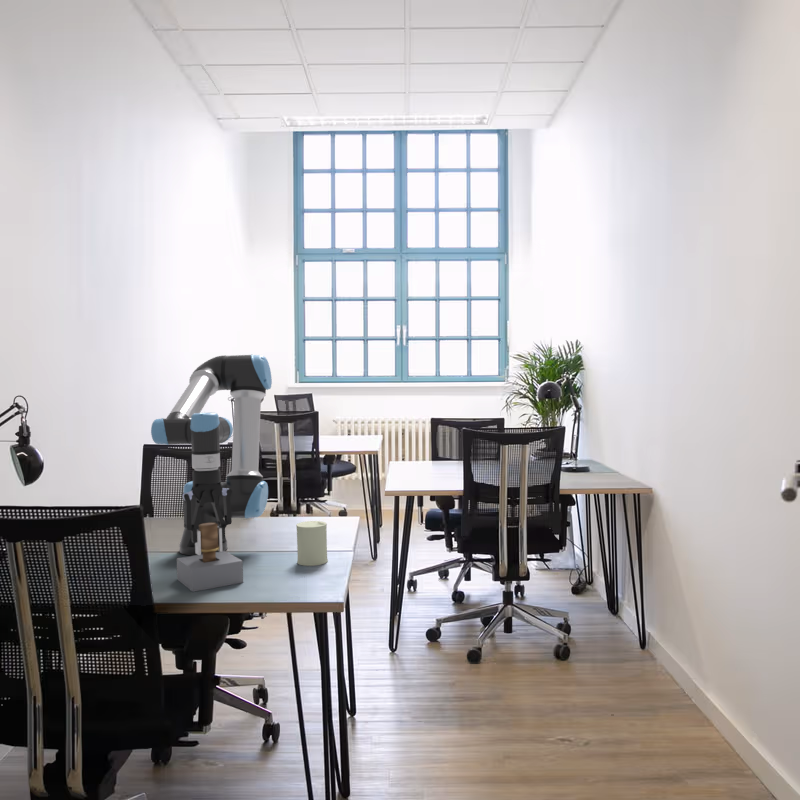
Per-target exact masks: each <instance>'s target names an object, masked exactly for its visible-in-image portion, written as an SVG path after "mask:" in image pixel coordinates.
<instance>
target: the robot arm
mask: <svg viewBox="0 0 800 800" xmlns="http://www.w3.org/2000/svg"><path fill="white" fill-rule="evenodd" d="M272 379H273V378H272V372H271V368H270V363H269V361H268V359H267V357H266V356H265V355H262V354H261V355H260V354H242V355H241V354H240V355H239V354H237V355H218V356H215V357H212V358H210V359H208V360H206V361H205V362H204V363H201V364H200V365H198V367H196V369H194V371H193V372H192V374H191V375H190V377H189V382H188V383H189V384H187V386H186V388H185V390H184V391H183V393H182V394H181V396H180V397H179V399H178V400H177V402H175V403H176V404H174V406H173V408H172V409H171V411H170V413H168V415H167V417H166V418H164V417H161V418H156V419H154V420H153V421H152V424H151V429H150V435H151V438H152V441H153V443H155V444H157V445H167V446H169V445H191V467H192V469H194V470H192V476H191V477H192V481H188V482H186V483H185V484H184V485H183V493H182V494H181V497H182V500H183V527H184V528H183V532H182V534H181V535H182V536H181V538H180V542H179V545H178V547H179V553H180V554H181V555H183V556H185V555H186V556H195V555H202V554H203V552H201V534H200V531H199V525H200V524H203V523H217V525H218V546H219V550H217V551H216V552H222V551H226V550H227V549H228V540H227V536H226V528H227V526H228V525H231V524H232V521H233V520H232V519H252V518H253V519H254V518H259V517H261V516H262V515H263V513H264V512H265V511H266V507H267V503H268V499H269V486H268V482H266V481H265V480H264V476H263V475H262V474H261V473H260V471H259V465H260V464H259V460H260V439H261V438H260V435H261V434H260V433H261V432H260V431H261V411H262V410H261V409H262V408H261V405H262V400H263V399H264V398H265V397H266V395H267V393H266V392H267V391H268V390H271V388H272V384H273V382H272ZM218 391H230V392H229V393H230V396H231V397H232V398H233V399H234V404H233V405H234V406H233V407H234V409H233V425H232V422H231V421H230V419H228V418H226V417H223V416H219V414H218V413H217V412H202V410H203V409H204V407H205V406H206V403H208V400H209V398H210V397H211V396H213V395H214V394H216V393H217V392H218ZM231 437H232V453H231V470H230V471H229V473H227V475H226V479H225V481H222V478H221V477H222V476H221V469H220V467H221V451H220V450H221V449H220V447H221V446H220V444H223V443H225V442H227V441H228V440H229V439H230V438H231Z"/></svg>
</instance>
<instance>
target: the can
mask: <svg viewBox="0 0 800 800" xmlns="http://www.w3.org/2000/svg"><path fill="white" fill-rule="evenodd" d="M327 525H328V524H327V522H325V521H320V520H308V521H302V522H301V521H300V522H298V523H297V524H296V544H297V547H296V548H297V551H296V553H297V561H296V563H297V564H298V565H300V566H304V567H305V566H306V567H313V566H321V565H324V564H327V563H328V561H329V560H328V539H327V538H328V537H327Z"/></svg>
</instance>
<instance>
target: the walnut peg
mask: <svg viewBox="0 0 800 800" xmlns="http://www.w3.org/2000/svg"><path fill="white" fill-rule="evenodd" d="M199 531H200V534H201V552H203V563H205V562H211V561H216V551H217V550H219V546H218V525H217V523H203V524H200V525H199Z"/></svg>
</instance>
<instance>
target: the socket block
mask: <svg viewBox="0 0 800 800" xmlns="http://www.w3.org/2000/svg"><path fill="white" fill-rule="evenodd" d="M243 566H244V561H243V560H242V559H240V558H239V557H237V556H235V555H233V554H231V553H230V552H228V551H226V550H225V551H222V552H216V561H211V562H205V563H203V554H202V555H188V556H183V557H178V558H176V579H177V581H179V582H180V583H181V584H182V585H184V586H185V587H186V588H187V589H189V591H191V592H192V593H194V592H198V591H204V590H210V589H214V588H215V589H216V588H220V587H226V586H232V585H236V584H242V583H244V567H243Z"/></svg>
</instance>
